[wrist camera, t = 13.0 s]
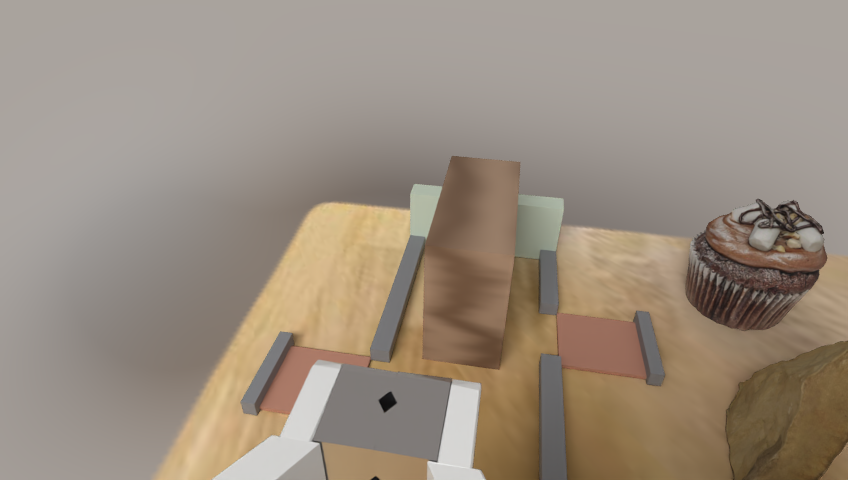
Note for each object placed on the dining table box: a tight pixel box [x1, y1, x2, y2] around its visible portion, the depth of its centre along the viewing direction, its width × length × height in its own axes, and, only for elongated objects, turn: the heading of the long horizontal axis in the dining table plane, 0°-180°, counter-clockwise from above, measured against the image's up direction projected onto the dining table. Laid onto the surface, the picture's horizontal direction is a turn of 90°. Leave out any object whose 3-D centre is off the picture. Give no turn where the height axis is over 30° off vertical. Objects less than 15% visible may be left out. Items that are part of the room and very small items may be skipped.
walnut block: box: [423, 156, 520, 370], centre depth 44 cm, size 6×14×11 cm, turn 170°
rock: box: [726, 341, 848, 480], centre depth 34 cm, size 11×9×10 cm
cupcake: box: [686, 199, 827, 331], centre depth 45 cm, size 10×10×10 cm
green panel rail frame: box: [241, 184, 665, 480], centre depth 40 cm, size 30×33×6 cm
